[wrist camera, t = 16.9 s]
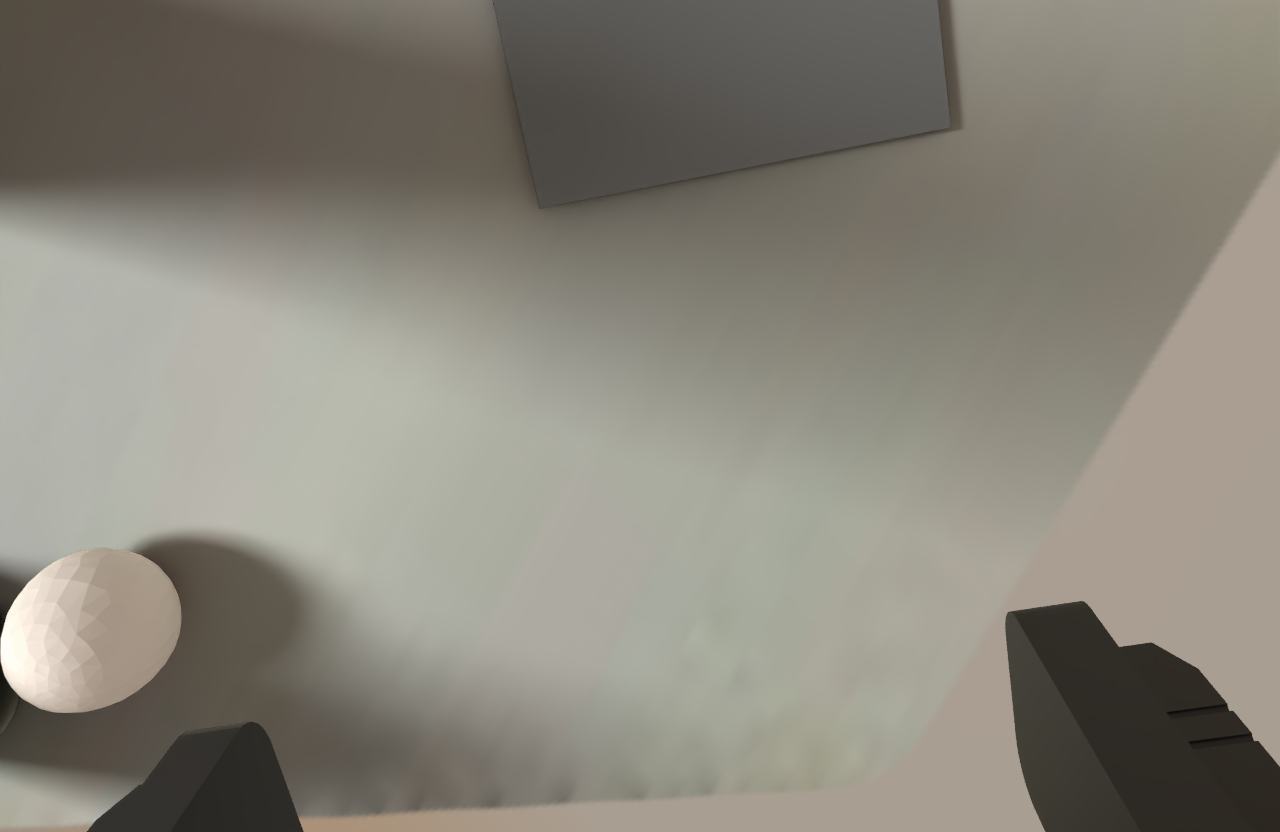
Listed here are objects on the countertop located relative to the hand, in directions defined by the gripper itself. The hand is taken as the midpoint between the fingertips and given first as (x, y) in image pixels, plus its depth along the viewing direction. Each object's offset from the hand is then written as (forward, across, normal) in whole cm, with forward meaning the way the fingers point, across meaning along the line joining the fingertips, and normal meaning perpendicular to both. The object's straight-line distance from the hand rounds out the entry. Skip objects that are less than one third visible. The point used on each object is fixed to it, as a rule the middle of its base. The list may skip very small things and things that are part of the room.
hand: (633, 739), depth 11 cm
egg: (+30, +25, +10) cm, 41 cm away
